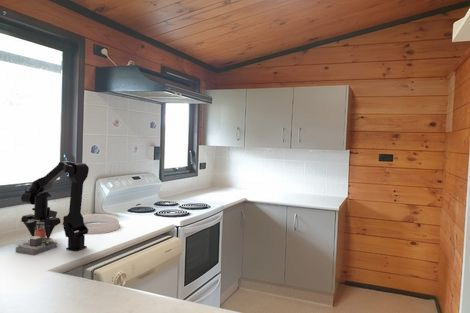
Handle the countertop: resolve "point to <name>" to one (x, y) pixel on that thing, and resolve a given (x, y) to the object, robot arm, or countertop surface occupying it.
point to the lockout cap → (40, 232)
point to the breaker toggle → (35, 241)
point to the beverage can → (40, 225)
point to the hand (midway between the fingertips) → (40, 237)
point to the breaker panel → (46, 245)
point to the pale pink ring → (101, 227)
